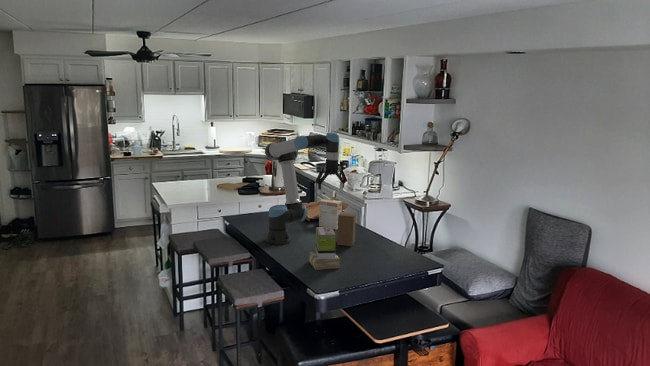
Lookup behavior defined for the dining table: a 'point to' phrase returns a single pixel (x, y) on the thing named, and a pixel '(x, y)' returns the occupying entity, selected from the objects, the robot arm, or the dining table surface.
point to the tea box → (325, 242)
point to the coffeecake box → (329, 213)
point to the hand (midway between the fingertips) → (331, 194)
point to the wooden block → (346, 228)
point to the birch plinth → (323, 262)
